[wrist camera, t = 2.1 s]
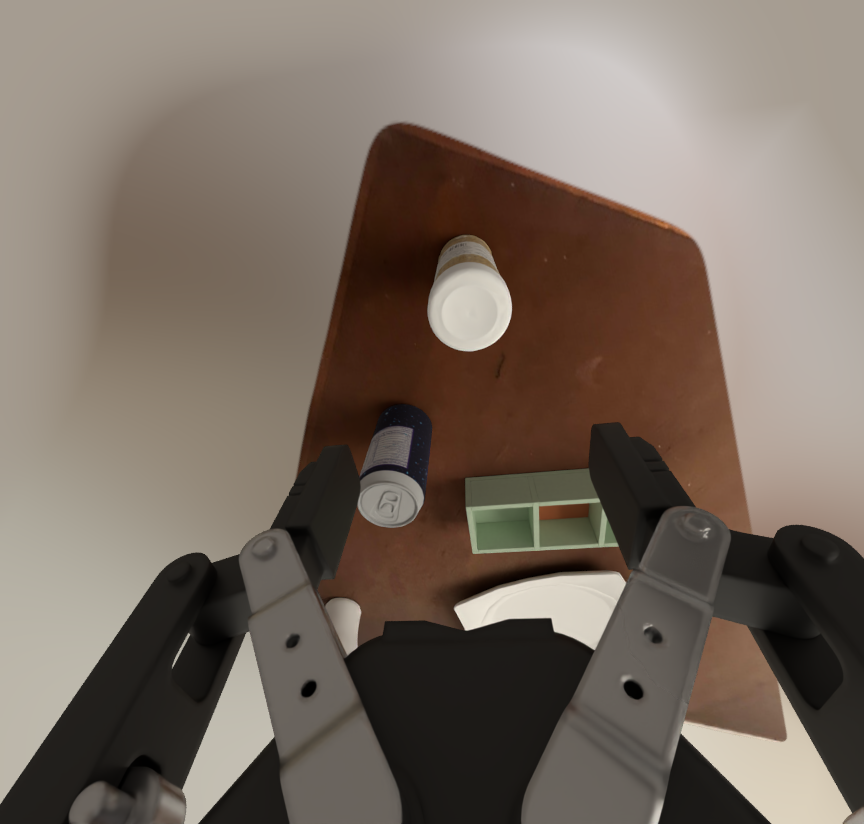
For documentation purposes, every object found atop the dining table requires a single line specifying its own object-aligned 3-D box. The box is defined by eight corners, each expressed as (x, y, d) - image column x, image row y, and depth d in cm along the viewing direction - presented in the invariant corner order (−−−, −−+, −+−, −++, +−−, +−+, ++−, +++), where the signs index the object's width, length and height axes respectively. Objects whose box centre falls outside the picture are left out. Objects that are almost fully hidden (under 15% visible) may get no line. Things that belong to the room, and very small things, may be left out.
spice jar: (447, 297, 33) (441, 363, 22) (431, 243, 31) (414, 285, 20) (499, 281, 32) (521, 340, 21) (486, 224, 30) (502, 256, 19)
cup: (308, 612, 61) (284, 684, 52) (330, 583, 56) (307, 656, 48) (359, 631, 63) (343, 702, 54) (384, 604, 58) (371, 677, 50)
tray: (662, 462, 41) (683, 492, 37) (652, 511, 45) (671, 543, 41) (465, 477, 44) (465, 507, 40) (471, 523, 48) (472, 554, 44)
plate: (499, 668, 67) (500, 685, 64) (443, 586, 55) (442, 604, 53) (649, 645, 60) (656, 664, 58) (619, 547, 49) (627, 566, 46)
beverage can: (373, 435, 42) (345, 520, 31) (387, 392, 39) (361, 470, 29) (422, 450, 42) (411, 538, 32) (440, 409, 39) (433, 492, 29)
